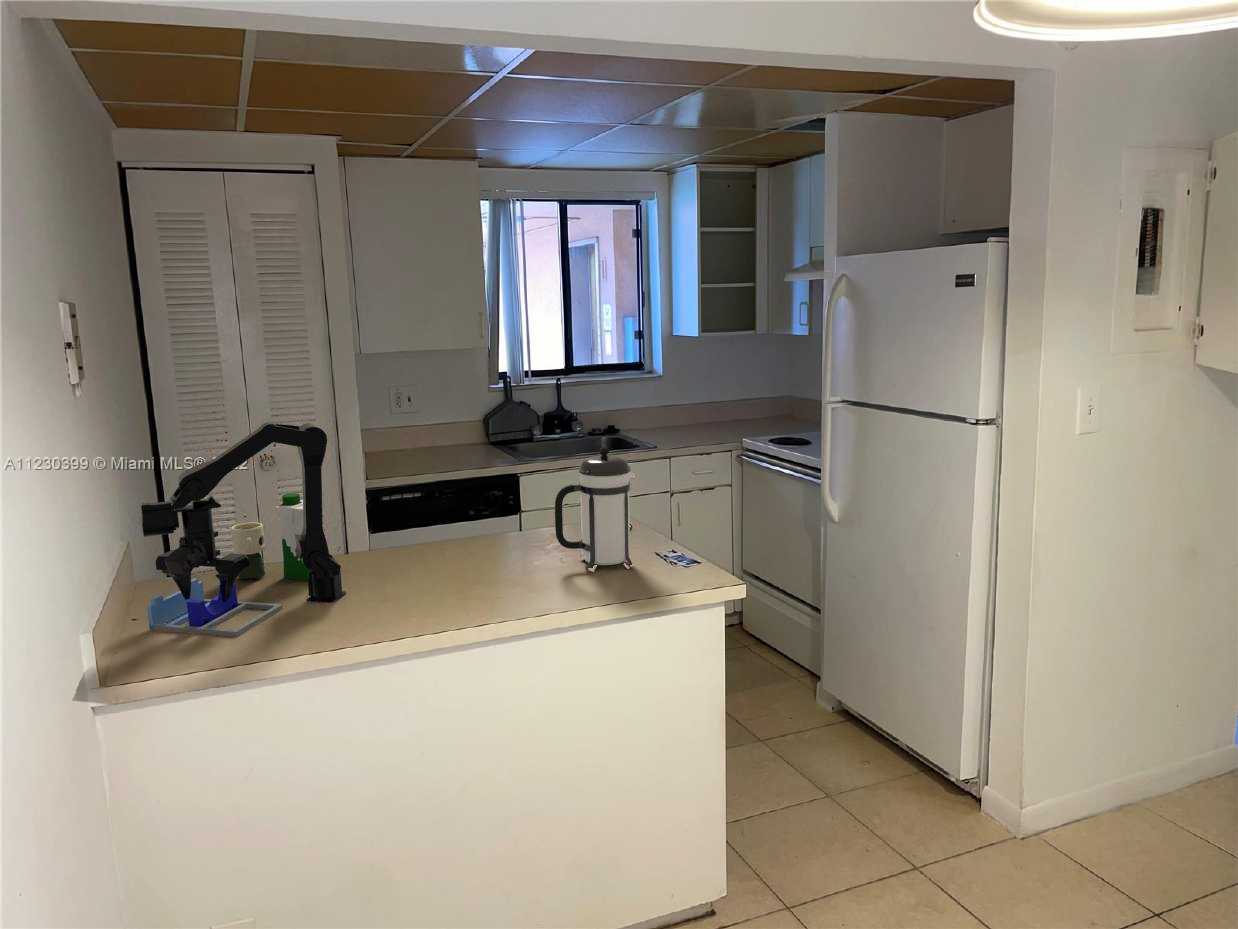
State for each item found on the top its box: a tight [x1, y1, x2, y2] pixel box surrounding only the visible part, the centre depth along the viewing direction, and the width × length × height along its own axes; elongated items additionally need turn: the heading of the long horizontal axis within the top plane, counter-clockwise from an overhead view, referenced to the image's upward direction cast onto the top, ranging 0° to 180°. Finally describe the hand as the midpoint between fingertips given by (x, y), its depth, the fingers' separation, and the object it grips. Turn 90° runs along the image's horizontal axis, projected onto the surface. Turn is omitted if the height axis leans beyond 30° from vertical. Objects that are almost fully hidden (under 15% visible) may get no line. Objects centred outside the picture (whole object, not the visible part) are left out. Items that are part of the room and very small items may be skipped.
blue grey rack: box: [146, 578, 284, 637], centre depth 188 cm, size 20×16×6 cm
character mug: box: [230, 522, 266, 580], centre depth 215 cm, size 11×7×13 cm, turn 26°
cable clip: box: [187, 583, 239, 627], centre depth 189 cm, size 12×4×6 cm, turn 168°
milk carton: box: [275, 493, 313, 581], centre depth 215 cm, size 9×9×20 cm
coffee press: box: [554, 446, 636, 569], centre depth 218 cm, size 17×16×30 cm
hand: (206, 600), depth 189 cm, fingers open, 9 cm apart
